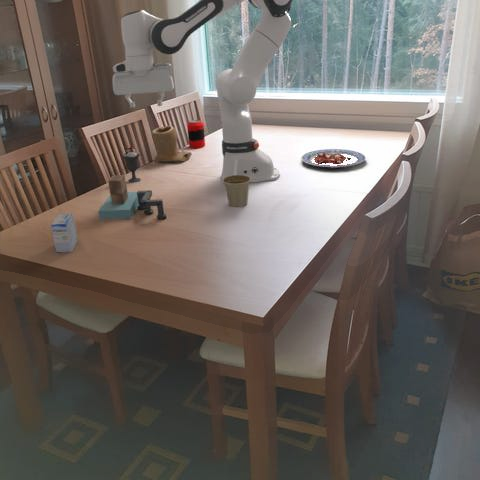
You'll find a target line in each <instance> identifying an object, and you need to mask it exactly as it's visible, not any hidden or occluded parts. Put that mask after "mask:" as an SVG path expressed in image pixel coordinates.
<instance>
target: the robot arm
mask: <svg viewBox="0 0 480 480" xmlns="http://www.w3.org/2000/svg"><path fill="white" fill-rule="evenodd" d="M244 1H246V0H198V1H197V2H196V3H194V5H192V6H191V7H189V8H188V9H187V10H185V11H184V12H182V13H180V15H179V16H176V17H173V18H167V19H164V18H160V17H157V16H154V15H152V14H150V13H148V12H146V11H145V9H135V10H132V11H128V12H126V13H124V14H123V16H122V18H121V20H120V22H121V23H120V27H121V38H122V43H123V45H124V47H125V52H124V55H125V60H121V61H120V62H119V63H116V64H115V65H113V66H112V71H113V73H114V74H113V75H112V90H113V93H114V95H116V96H123V95H124V98H125V100H126V101H127V102H128V104H129V108H130V109H135V108H136V101H132V99H131V95H137V94H139V95H140V94H153V93H159V96H160V98H159V99H158V100H157V101H156V102H157V107H162V106H163V105H164V104H163V99H164V97H165V93H167V92H172V91H173V90H174V88H175V84H174V80H173V78H174V77H173V76H172V75H173V74H174V70H173V66H172V64H170V63H168V62H164V61H163V62H154V56H153V55H154V54H153V50H154V51H155V50H158V51H159V52H160V53H161V54H164V55H174V54H176V53H178V52H179V51H180V50H181V49H182V48H183V46H184V44H185V43H186V41H187V40H188V38H189V37H190V35H192V34H193V33H195V32H196V31H197V30H198V29H200V28H201V27H203V26H204V25H205V24H206V23H208V22H210V21H211V20H213V19H215V18H217V17H220V16H222V15H225V14H226V13H228V12H230V11H231V10H234V9H235V8H237V7H238V6H239V5H240V4H242V3H243V2H244ZM247 1H248V2H249V3H250V4H251V5H252V6H253V7H254V8H256V9H258V10H259V9H260V10H261V13H260V18H259V21H258V22H257V24H256V25H255V27H254V28H253V30H252V31H251V33H250V35H249V36H248V37H247V39H246V41H245V42H244V44H243V45H242V47H241V49H240V52H239V55H238V57H237V59H236V62H235V64H234V65H233V68H228V69H224V70H223V71H221V72H220V73H219V74H218V76H217V77H216V80H215V87H216V93H217V99H218V107H219V113H220V118H221V119H220V120H221V127H222V128H221V129H222V130H221V131H222V140H221V151H222V153H221V154H222V156H223V158H222V159H223V161H222V171H221V176H220V177H221V178H220V179H221V180H222V179H223V178H225V177H227V176H231V175H246V176H249V177H250V178H251V180H250V183H257V182H266V181H267V182H268V181H276V180H277V179H279V178H278V177H280V170H279V169H278V168H277V167H275V166H274V162H273V159H272V157H270V156H269V155H268V154H267V153H265V152H264V151H263V150H261V149H259V147H260V143H259V141H258V139H254V138H253V122H252V121H253V120H252V115H251V112H250V107H249V103H251V102H252V101H253V100H254V99H255V96H256V94H257V89H258V87H259V85H260V83H261V81H262V78H263V76H264V74H265V72H266V70H267V68H268V66H269V65H270V63H271V62H272V60H273V59H274V57H275V56H276V54H277V52H278V51H279V49H281V47H282V45H283V43H284V41H285V40H286V38H287V36H288V34H289V32H290V29H291V26H292V20H291V19H292V18H291V17H290V16H289V13H290V10H291V8H292V7H291V6H292V3H293V0H247Z"/></svg>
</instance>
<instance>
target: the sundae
mask: <svg viewBox="0 0 480 480" xmlns="http://www.w3.org/2000/svg"><path fill="white" fill-rule="evenodd" d="M132 145H134V144H133V143H132V142H131V144H130V146H129V147H128V148H126V150H125V153H123V154H121V158H122V159H124V162H125V166H126V169H127V170H128V171H129V172H130V173H131V178H130V179H128V180H127V182H128V183H138V182H140V181H141V180H142V179H141V178H140V177H137V176H136V171H137V170H138V167H139V157H140V153H138V152H136V150H135V149H134V147H133V146H132Z"/></svg>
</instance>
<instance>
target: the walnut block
mask: <svg viewBox="0 0 480 480" xmlns="http://www.w3.org/2000/svg"><path fill="white" fill-rule="evenodd" d="M107 183H108V188H109V196H110V195H111V202H112V204H124V203H125V202H126V200H127V199H128V193H127V192H128V188H127V182H126V175H125V174H114V175H112V176H111V177H110V178H109V179H108V182H107Z"/></svg>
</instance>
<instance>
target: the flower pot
mask: <svg viewBox="0 0 480 480" xmlns="http://www.w3.org/2000/svg"><path fill="white" fill-rule="evenodd" d="M250 180H251V178H250V177H249V176H246V175H231V176H227V177H225V178H223V179H222V178H221V182H222V184H223V186H224V188H225V193H226V197H227V202H228V206H230V207H234V208H240V207H244V206H245V205H247V204H248V198H249V188H250V187H249V186H250V184H251V182H250Z"/></svg>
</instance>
